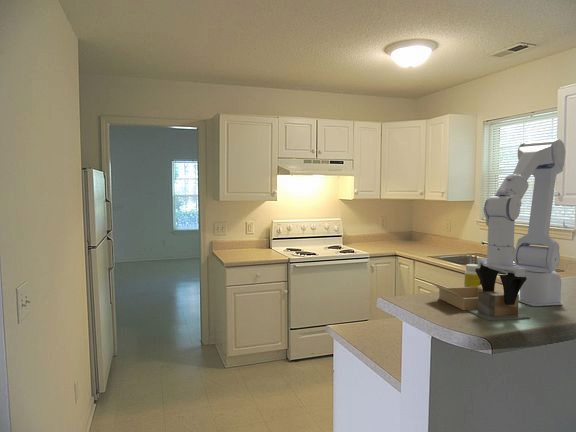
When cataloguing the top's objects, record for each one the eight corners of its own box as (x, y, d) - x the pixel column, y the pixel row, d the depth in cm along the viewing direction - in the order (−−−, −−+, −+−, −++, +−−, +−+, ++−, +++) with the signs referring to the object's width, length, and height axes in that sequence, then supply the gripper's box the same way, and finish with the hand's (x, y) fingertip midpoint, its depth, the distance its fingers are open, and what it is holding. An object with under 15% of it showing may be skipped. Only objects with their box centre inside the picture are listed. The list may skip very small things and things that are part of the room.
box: (506, 310, 104) (507, 290, 104) (518, 314, 100) (518, 294, 100) (478, 311, 103) (478, 291, 102) (488, 316, 99) (489, 295, 98)
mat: (506, 309, 106) (506, 307, 106) (530, 318, 98) (530, 317, 98) (467, 311, 104) (468, 309, 104) (488, 320, 97) (488, 319, 97)
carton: (486, 296, 120) (486, 279, 119) (515, 307, 108) (516, 289, 108) (429, 299, 116) (429, 281, 116) (452, 310, 105) (453, 291, 105)
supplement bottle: (482, 295, 122) (483, 266, 121) (465, 294, 123) (466, 266, 122) (478, 291, 126) (479, 264, 126) (462, 290, 127) (463, 263, 127)
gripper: (467, 242, 107) (466, 293, 108) (506, 249, 93) (504, 309, 93) (492, 241, 108) (490, 292, 109) (534, 248, 94) (532, 307, 95)
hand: (498, 300), depth 101 cm, fingers open, 7 cm apart
